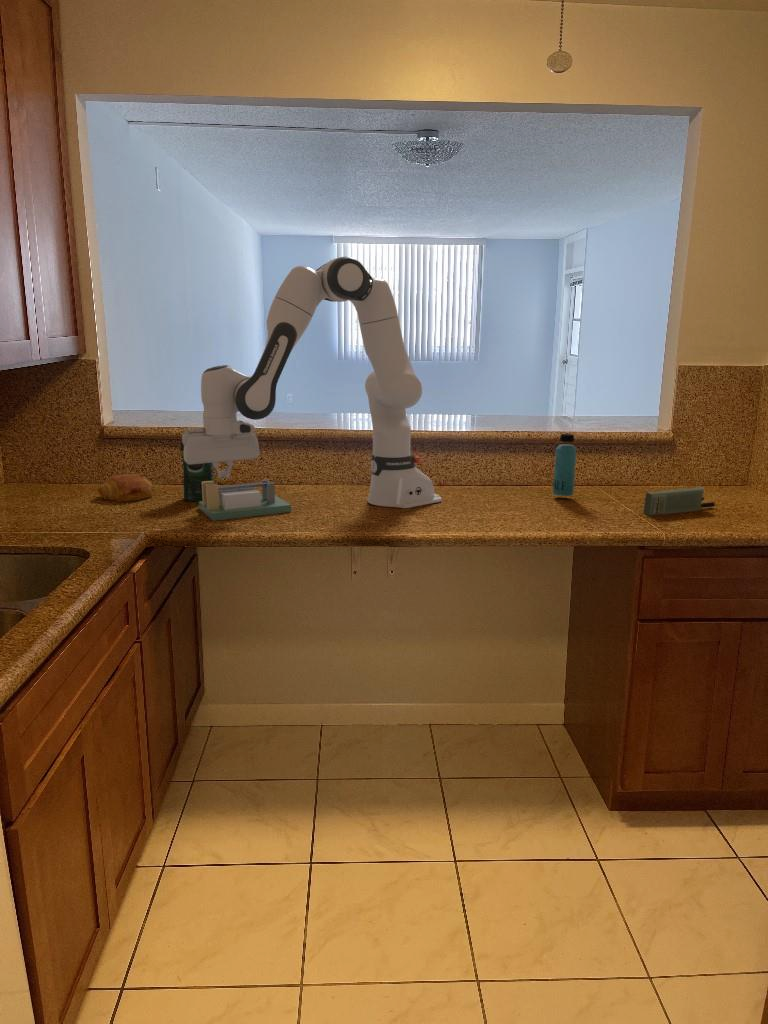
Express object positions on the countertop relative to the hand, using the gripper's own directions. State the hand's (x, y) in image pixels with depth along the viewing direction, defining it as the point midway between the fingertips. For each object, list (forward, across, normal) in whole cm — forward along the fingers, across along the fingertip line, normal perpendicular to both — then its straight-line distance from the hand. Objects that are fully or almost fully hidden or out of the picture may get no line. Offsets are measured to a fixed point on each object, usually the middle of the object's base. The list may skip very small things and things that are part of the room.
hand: (223, 477), depth 190 cm
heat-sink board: (+10, +6, 0) cm, 11 cm away
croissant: (+10, -21, +31) cm, 39 cm away
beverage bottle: (+12, +98, -28) cm, 102 cm away
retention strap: (+4, +4, 0) cm, 6 cm away
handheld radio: (+12, +118, -55) cm, 130 cm away
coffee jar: (+10, -2, +19) cm, 22 cm away
